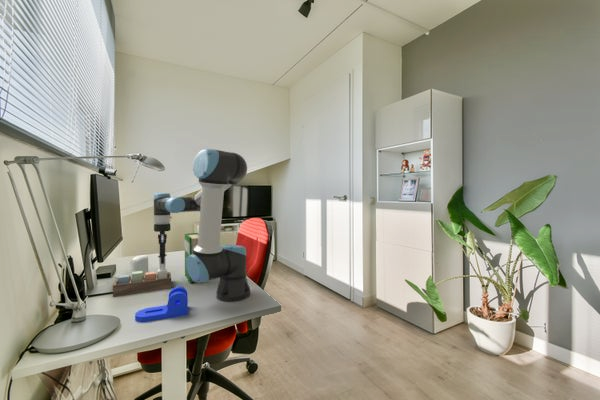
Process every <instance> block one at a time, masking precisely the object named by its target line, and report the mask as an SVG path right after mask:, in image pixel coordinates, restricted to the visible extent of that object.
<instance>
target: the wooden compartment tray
mask: <svg viewBox="0 0 600 400" xmlns="http://www.w3.org/2000/svg"><path fill="white" fill-rule="evenodd" d="M118 278H119V277H118ZM118 278H116V279H115V280H114V282H113V285H112V297H118V296H126V295H132V294H140V293H146V292H147V293H149V292H153V291H154V292H155V291H160V290H167V289H168V290H169V289H172V275H171V272H170V271H167V278H164V279H158V273H155V280H148V281H145V275H143V280H142V281H139V282H132V277H131V276H130V282H129V283H125V284H118Z"/></svg>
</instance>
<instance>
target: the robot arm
mask: <svg viewBox="0 0 600 400" xmlns="http://www.w3.org/2000/svg"><path fill="white" fill-rule="evenodd" d="M192 171H193V175H194V176H195V177H196V178H197V179H198V183H199V186H201V189H200V190H199V191H198V192H197V193H196V194H195V195H193V196H171V194H170V193H169V192H156V193H154V194H153V201H152V202H153V223H154V224H153V231H154V232H156V233H158V232H159V234H157V239H158V245H159V254H158V256H157V257H158V258H159V269H160V270H165V269H166V256H167V257H168V255H167V254H166V243H167V238H168V237H167V236H168V234H167V233H166V232H170V231H171V223H170V222H171V219H172V218H173V217H172V216H171V213H172V214H178V213H189V212H199V222H198V223H199V224H198V233H199V234H198V244H197V245H196V246H195V247H194V248H193V254H191V255H190V256H188V258H187V260H186V268H187V272H188V274H189V276H190V277H191V279H192V280H193V281H194V283H205V282H208V281H212V280H214V279H215V280H216V279H218V278H219V279H220V280H219V281H218V282H219V283H218V286H217V289H216V292H215V294H216V299H218V300H219V301H223V302H237V301H241V300H245V299H248V298H249V297H250V295H251V287H250V285H249V282H248V279H247V249H246V247H245V246H243V245H237V244H221V245H220V242H221V229H222V218H223V208H224V195H225V191H226V190H228V189H229V188H231V187H232V186H237V185H238V184H239V183H240V182H242V181H243V180H244V179H245V177H246V175H247V173H248V164H247V162H246V159H245V158H244V157H243V156H242V155H240V154H239V153H236V152H230V151H224V150H219V149H215V148H214V149H213V148H211V149H210V148H205V149H202V150H200V151H199V152H198V153H197V154H196V156H195V158H194V159H193V164H192Z"/></svg>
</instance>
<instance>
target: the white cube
mask: <svg viewBox="0 0 600 400" xmlns="http://www.w3.org/2000/svg"><path fill="white" fill-rule="evenodd" d="M167 272H168V268H167V267H165V270H160V268H158V269H157V274H158V279H164V278H167Z"/></svg>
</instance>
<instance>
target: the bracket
mask: <svg viewBox="0 0 600 400" xmlns="http://www.w3.org/2000/svg"><path fill="white" fill-rule="evenodd" d="M188 299H189V298H188V290H187V289H186V287H184V286H176V287H173V288H171V290H170V291H169V292H168V299H167V304H165V305H159V306H158V305H157V306H152V307H146V308H143V309H140V310H138V311H137V312H135V313H134V320H135V322H136V323H137V322H138V323H146V322H153V321H160V320H165V319H171V318H176V317H184V316H189V312H188V311H189V306H188V304H189V303H188V301H189V300H188Z"/></svg>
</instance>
